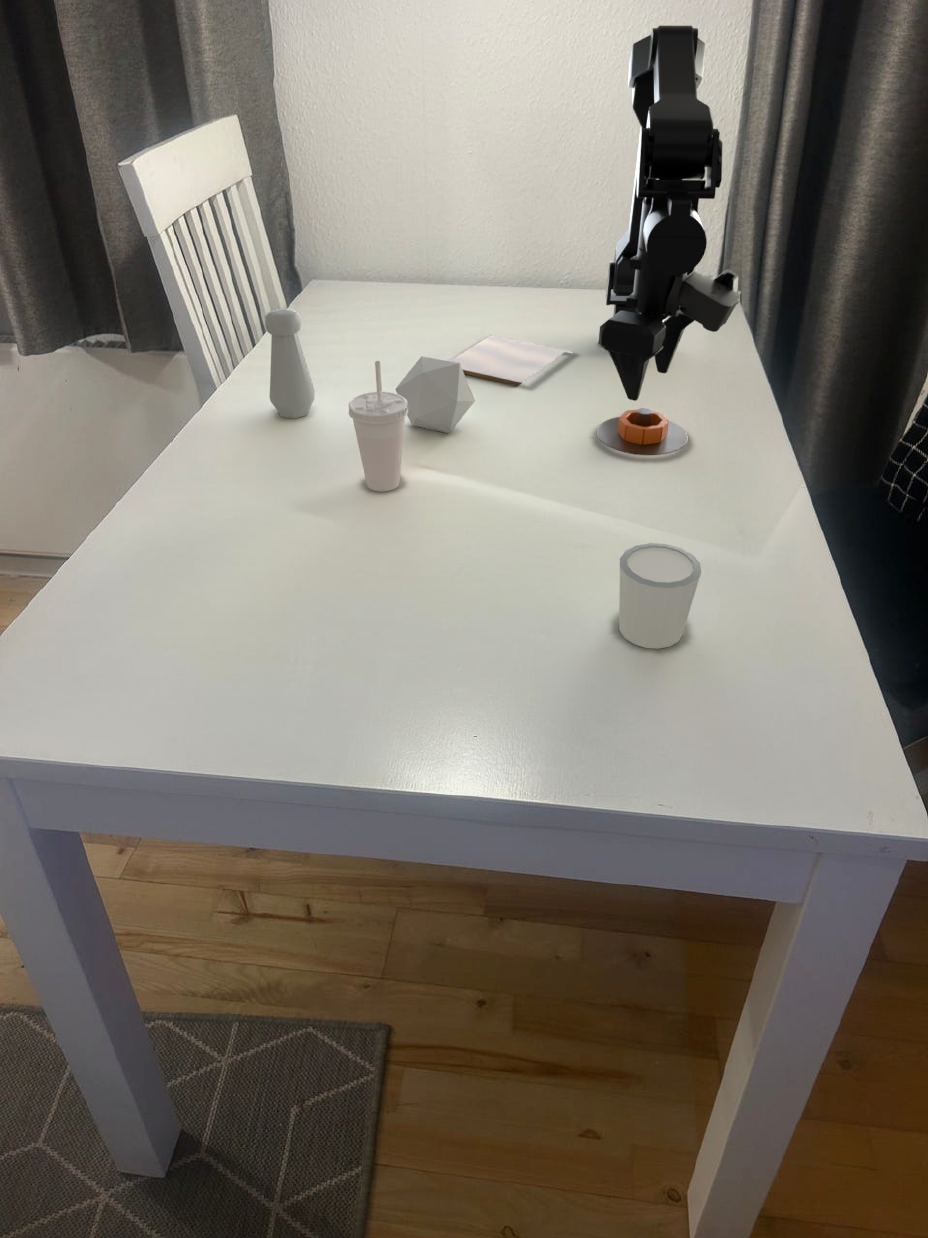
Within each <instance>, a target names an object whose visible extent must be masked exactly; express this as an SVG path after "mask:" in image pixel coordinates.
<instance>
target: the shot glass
mask: <svg viewBox="0 0 928 1238" xmlns="http://www.w3.org/2000/svg"><path fill="white" fill-rule="evenodd" d="M701 574H702V566H701V562H700V561H699V560H698V559H697V558H696V557H695V556H694V554H692V553H691V552H688V551H687V550H685V549H683V548H681V547H678V546H674V545H671V544H666V543H652V542H650V543H644V544H638V545H634V546H633V547H630V548H628V549H626V550H624V552H623V553H622V555H621V556H620V558H619V592H618V593H619V594H618V595H619V596H618V597H619V604H618V605H619V607H618V610H619V611H618V612H619V613H618V622H619V623H618V627H619V628H618V629H619V632H620V634H621V635H622V637H623V638H624V639H625V640H626V641H628V642H630V643H631V644H633V645H635V646H639V647H641V648H644V649H653V650H654V649H655V650H656V649H657V650H659V649H665V648H670V647H672V646H674V645H675V644H677V643H679V641H680V640H681V638H682V637H683V634H684V630H685V628H686V625H687V622H688V621H687V620H688V619H689V615H690V611H691V608H692V604H693V601H694V598H695V594H696V591H697V588H698V584H699V581H700V577H701Z"/></svg>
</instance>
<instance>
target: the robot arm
mask: <svg viewBox="0 0 928 1238" xmlns="http://www.w3.org/2000/svg"><path fill="white" fill-rule="evenodd" d="M705 54H706V43H705V42H704V41H703V40H701V39H700V38H699V29H698V27H693V26H692V25H658V26H657V27H652V29H651V32H650V34H649V35H647V36H645V37H643V38H641V39H640V40H638V41H635V42H634V43H633V44H632V47H631V52H630V56H629V65H628V75H627V89H631V100H632V110H633V111H634V114H635V116H636V118H637V121H638V123H639V125H640V127H639V129H640V130H639V135H638V146H637V155H636V156H637V157H636V162H635V163H636V164H635V165H636V166H635V172H634V179H633V180H634V181H633V189H632V198H631V208H630V215H629V224H628V229H627V230H626V232H625V233H624V234H623V235H622V237H621V238H620V239H619V240H618V242H617V243H616V244H615V250H614V260H613V261H612V260H611V261H610V260H609V264H608V269H607V276H606V282H605V295H604V296H605V305H606V306H613V312H612V316H611V317H610V318H608V319H607V320H606V321H605V322H604V323H602V324H601V325H599V330H598V331H599V332H598V342H597V343H598V344H599V345H600V347H603V349H604V350H605V351H608V354H609V356H610V358H611V360H612V362H613V365H614V366H615V369H616V371H617V374H618V376H619V379H620V381H621V384H622V387H623V390H624V392H625V394H626V398H627V399H628V400H630V401H634V402H636V401H638V400H639V397H640V394H641V392H642V388H643V384H644V380H645V376H646V373H647V369H648V365H649V362H650V359H652V358H654V360H655V361H654V363H655V366H656V371H657V372H658V373H660V374H667V373H668V371H669V369H670V366H671V364H672V361H673V359H674V357H675V354H676V351H677V349H678V346H679V343H680V341H681V339H682V336H683V334H684V332H685V330H686V328H687V327H688V326H689V325H691V324H692V323H694V322H697V323H699V324H700V325H702V328H703V329H705V330H707V331H708V332H712V333H715V332H719V330H720V329H721V328H722V327H723V326H724V325H726V324H727V321H728V320H729V318H730V316H731V315H732V313H733V311H734V309H735V308H736V306H737V305H738V304H739V303H740V299H741V296H740V295H741V291H740V290H738V289H739V288H738V286H739V275H738V274H736V273H734V272H733V271H731V270H729V269H726V270H724V271H722V273H720V274H719V275H717V276H716V277H715V278H713V275H712V274H709V275H704V274H703V273H701V272H699V271H698V268H699V263H701V262H702V259H703V258H704V256H705V253H706V249H707V245H708V244H707V242H708V240H707V235H706V231H705V229H704V226H703V223H702V221H701V218H700V215H699V202H700V199H701V200H703V199H704V200H715V198H716V191H717V190H716V189H717V188H720V187H721V184H722V181H723V141H722V140H721V138H720V133H721V132H720V131H719V128H714V119H713V113H712V109H711V107H710V106H709V105H708V104H706V103H704V102H702V100H700V99H699V98H698V88H699V86H700V85H701V83H702V80H703V78H704V66H705V65H704V64H705V56H706V55H705ZM705 176H706V180H705V179H704V178H705Z"/></svg>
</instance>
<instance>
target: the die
mask: <svg viewBox="0 0 928 1238" xmlns="http://www.w3.org/2000/svg"><path fill="white" fill-rule="evenodd" d="M395 392H396V394H398V395H400V396H402V397H404V398H405V399H406V400H407V406H408V413H407V415H406V416H407V418H408V420H409V423H410V424H411V426H412V427H416V428H420V429H421V428H422V429H426V430H431V431H434V432H435V431H436V432H440V433H444V434H451V432H452V431H453V430H454V428H455V427H456V426H457V424H458V423H459V422H460V421H461V420H462V418H463V417H464V416H465V414H466V413H467V412H468V411H469V409H470V408H471V407H472V406H473V405H474V403H475V402H476V400H475V398H474V395H473V393H472V390H471V387H470V385H469V383H468V381H467V378H466V374H464V373H463V370H462V368H461V365H460V363H456V362H450V360H444V359H439V358H433V357H427V356H420V357H419V359H418V360H416V362H415V364H414V365H413V366H412V367H411V369H410V370H409V371H408V372H407V374H406V375H405V376H404V377H403V379H402V380H401V381H400V382H399V384H398V385H397V386H396V387H395Z"/></svg>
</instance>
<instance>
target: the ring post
mask: <svg viewBox="0 0 928 1238" xmlns="http://www.w3.org/2000/svg"><path fill="white" fill-rule="evenodd" d="M652 411H653V410H652V409H651V408H647V407H641V408H638V411H637V418H636V425H638V426H643V427H648V426H651V420H652ZM619 417H620V416H615V417H613V418H609V419H607V420H605V421H604V422H602V423H601V424H599V426H598V427H597V429H596V436H597V438H598V440H599V441H600V442H601V443H603V444H604V445H605V446H607V447H609V448H611V449H613V450H616V451H619V452H621V453H626V454H631V455H637V456H660V455H667V454H670V453H673V452H677V451H678V450H680V449H682V448H684V447H685V446H686V445H687V443H688V442H689V441H688V440H689V435H688V433H687V431H686V430H685V429H684V428H683V427H682V426H680V425H679V424H677V423H675V422H673V421H670V420H669V425H668V432H667V436H666V437H665V438H664V439H663V440H662V442H659V443H654V444H646V445H643V444H642V445H640V444H636V443H632V442H628V441H625V440H623V438H622V437H621V436H620V435H619V434H618V424H619Z"/></svg>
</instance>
